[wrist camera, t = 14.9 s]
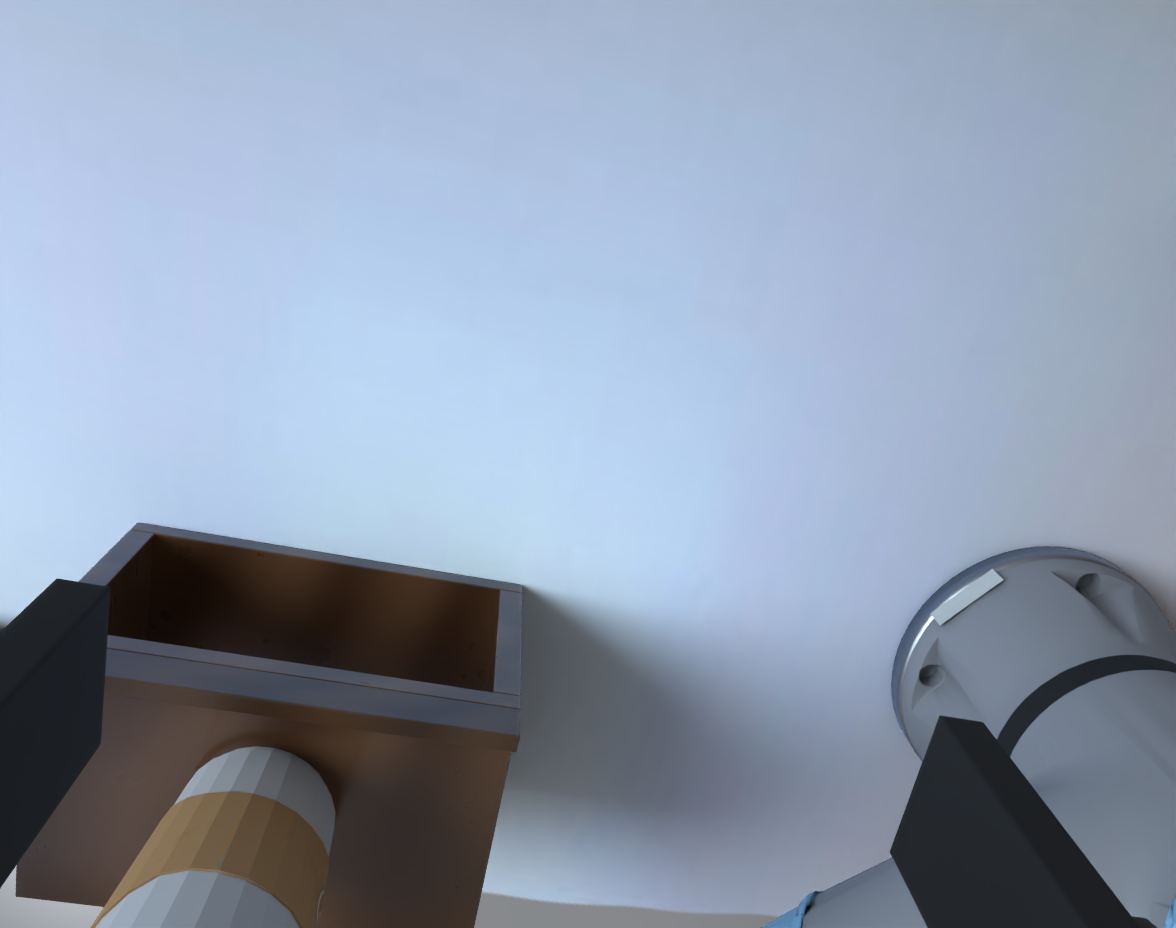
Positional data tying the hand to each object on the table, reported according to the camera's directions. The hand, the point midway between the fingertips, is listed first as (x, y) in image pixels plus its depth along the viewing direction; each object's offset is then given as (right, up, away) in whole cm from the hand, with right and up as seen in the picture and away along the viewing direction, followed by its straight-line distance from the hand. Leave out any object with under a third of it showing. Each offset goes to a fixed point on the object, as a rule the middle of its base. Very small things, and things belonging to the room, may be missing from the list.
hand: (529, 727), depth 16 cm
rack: (-14, -7, +38) cm, 41 cm away
